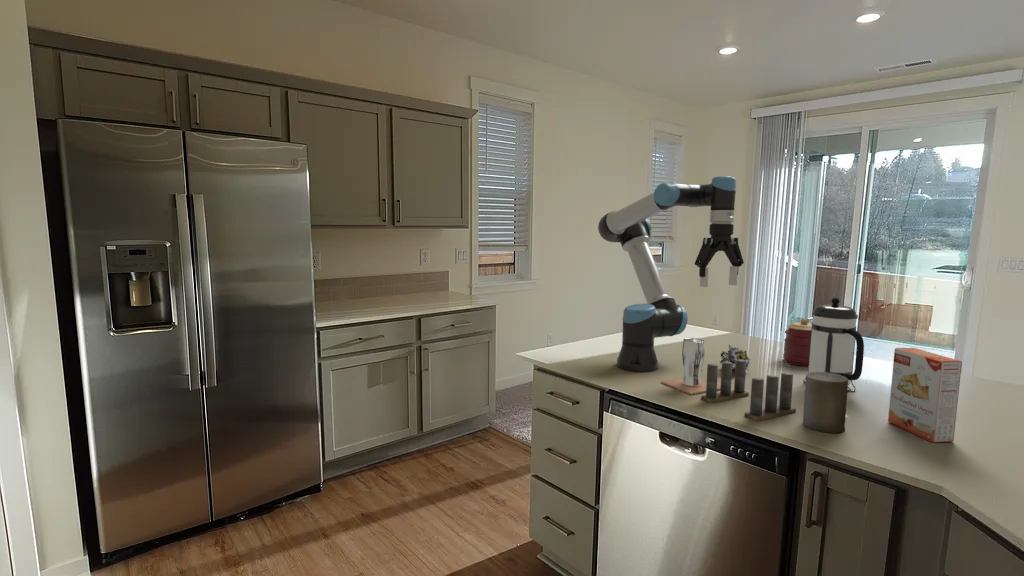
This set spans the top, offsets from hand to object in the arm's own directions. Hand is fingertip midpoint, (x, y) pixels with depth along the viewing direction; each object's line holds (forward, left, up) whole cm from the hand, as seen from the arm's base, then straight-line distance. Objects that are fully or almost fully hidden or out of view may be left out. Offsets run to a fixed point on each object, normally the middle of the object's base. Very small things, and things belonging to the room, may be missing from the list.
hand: (718, 286), depth 176 cm
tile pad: (+3, -13, -33) cm, 35 cm away
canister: (-2, +49, -33) cm, 59 cm away
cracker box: (+57, +12, -33) cm, 67 cm away
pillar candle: (+44, -7, -33) cm, 55 cm away
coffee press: (+24, +28, -33) cm, 49 cm away
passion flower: (-4, +14, -33) cm, 36 cm away
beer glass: (+3, -13, -32) cm, 35 cm away
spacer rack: (+24, -12, -33) cm, 42 cm away
